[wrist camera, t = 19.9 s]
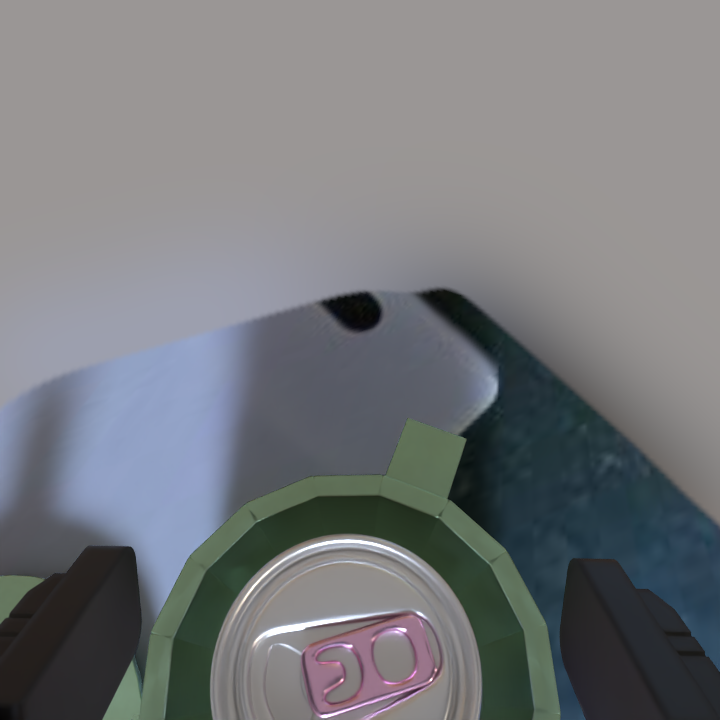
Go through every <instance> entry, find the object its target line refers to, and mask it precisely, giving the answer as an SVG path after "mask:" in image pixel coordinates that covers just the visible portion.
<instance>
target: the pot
mask: <svg viewBox="0 0 720 720" xmlns="http://www.w3.org/2000/svg"><path fill="white" fill-rule="evenodd" d="M465 443H466V438H463V437H460V436H457V435H455V434H452V433H449V432H446V431H443V430H441V429H438V428H435V427H432V426H429V425H427V424H424V423H421V422H418V421H416V420H413V419H410V418H407V420H406V423H405V425H404V428H403V431H402V433H401V436H400V438H399V441H398V444H397V446H396V449H395V451H394V454H393V457H392V459H391V462H390V465H389V467H388V470H387V472H386V475H383V476H382V475H380V474H376V475H319V476H310V477H307V478H305V479H302V480H300V481H298V482H295V483H293V484H290V485H288V486H285V487H283V488H281V489H278V490H276V491H273V492H271V493H269V494H266V495H264V496H261V497H259V498H257V499H254V500H252V501H249V502H247V503H246V504H244V505H243V506H242V507H241V508H240V509H239V510H238V511H237V512H236V513H235V514H234V515H233V516H231V517H230V518H229V519H228V520H227V521H226V522H225V523H224V524H223V525H222V526H221V527H220V528H219V529H218V530H217V531H215V532H214V533H213V534H212V535H211V536H210V537H209V538H208V539H207V540H206V541H205V542H204V543H203V544H202V545H201V546H200V547H198V548H197V549H196V550H195V551H194V552H193V553H192V554H191V555H190V557H189V558H188V559H187V561H186V563H185V565H184V567H183V569H182V571H181V573H180V575H179V577H178V579H177V581H176V583H175V585H174V587H173V589H172V591H171V593H170V595H169V597H168V599H167V601H166V602H165V604H164V606H163V608H162V610H161V612H160V614H159V616H158V618H157V620H156V622H155V624H154V626H153V628H152V630H151V633H152V634H151V635H150V639H149V646H148V654H147V661H146V669H145V676H144V684H143V691H142V699H141V706H140V714H139V720H213V718H212V711H211V702H210V676H211V666H212V660H213V654H214V650H215V646H216V642H217V639H218V636H219V632H220V630H221V627H222V625H223V622H224V620H225V618H226V616H227V614H228V611H229V609H230V608H231V606H232V604H233V602H234V601H235V599H236V598H237V596H238V595H239V593H240V592H241V590H242V589H243V588H244V586H245V585H246V584H247V583H248V581H249V580H250V579H251V578H252V577H253V576H254V575H255V574H256V573H257V572H258V571H259V570H260V569H261V568H262V567H263V566H264V565H266V564H267V563H268V562H269V561H270V560H272V559H273V558H275V557H276V556H277V555H279V554H281V553H282V552H284V551H286V550H287V549H289V548H291V547H293V546H295V545H297V544H300V543H302V542H305V541H308V540H311V539H314V538H318V537H322V536H327V535H334V534H362V535H368V536H373V537H377V538H381V539H384V540H387V541H390V542H393V543H395V544H398V545H400V546H402V547H404V548H406V549H408V550H409V551H411V552H413V553H414V554H416V555H417V556H419V557H420V558H421V559H423V560H424V561H425V562H427V563H428V564H429V565H430V566H431V567H432V568H433V569H434V570H436V571H437V572H438V573H439V574H440V576H441V577H442V578H443V579H444V580H445V581H446V582H447V584H448V585H449V586H450V588H451V589H452V590H453V592H454V593H455V595H456V596H457V598H458V599H459V601H460V603H461V605H462V606H463V608H464V610H465V612H466V614H467V617H468V619H469V621H470V624H471V626H472V629H473V632H474V635H475V638H476V642H477V646H478V650H479V656H480V662H481V671H482V703H481V712H480V718H479V720H560V706H559V700H558V693H557V687H556V680H555V674H554V667H553V661H552V655H551V648H550V642H549V635H548V629H547V625H546V622H545V620H544V618H543V616H542V615H541V613H540V611H539V609H538V607H537V605H536V604H535V602H534V600H533V598H532V596H531V594H530V592H529V591H528V589H527V587H526V585H525V583H524V581H523V579H522V578H521V576H520V574H519V572H518V570H517V568H516V566H515V565H514V563H513V561H512V559H511V557H510V555H509V553H508V552H507V551H506V549H505V548H504V547H503V546H501V545H500V544H499V543H498V542H497V541H496V540H495V539H494V538H492V537H491V536H490V535H489V534H488V533H487V532H486V531H485V530H483V529H482V528H481V527H480V526H479V525H478V524H477V523H476V522H474V521H473V520H472V519H471V518H470V517H469V516H468V515H467V514H466V513H464V512H463V511H462V510H461V509H460V508H459V507H458V506H457V505H455V504H454V503H453V502H452V501H451V500H448V496H449V493H450V490H451V486H452V483H453V480H454V477H455V474H456V471H457V468H458V465H459V462H460V459H461V456H462V453H463V450H464V447H465Z"/></svg>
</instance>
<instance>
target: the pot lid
mask: <svg viewBox="0 0 720 720" xmlns="http://www.w3.org/2000/svg"><path fill="white" fill-rule="evenodd" d="M44 580H45V579H44V578H39V577H34V576H21V575H6V576H0V624H1V623H2V622H3V620H4V619H5V618H8V617H9V613H10V612H11V611H12V610H13V608H14V607H15V606H16V605H17V604H18V602H19V601H20V600H21V599H22V598H23V596H24V595H25V594H26V593H27V592H28V591H29V590H31V589H32V588H34V587H35V586H37V585H38V584H40V583H41V582H42V581H44ZM142 691H143V685H142V679H141V676H140V672H139V669H138V666H137V662H136V659H135V656H134V657H133V659H132V661H131V663H130V665H129V667H128V669H127V671H126V673H125V675H124V677H123V679H122V681H121V683H120V685H119V687H118V689H117V691H116V693H115V695H114V697H113V699H112V701H111V703H110V705H109V707H108V709H107V711H106V713H105V715H104V717H103V719H102V720H139V714H140V706H141V699H142Z"/></svg>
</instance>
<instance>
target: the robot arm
mask: <svg viewBox="0 0 720 720" xmlns="http://www.w3.org/2000/svg"><path fill="white" fill-rule="evenodd" d="M141 624H142V617H141V606H140V596H139V585H138V575H137V565H136V556H135V552H134V550H133V548H132V547H129V546H88V547H86V548H85V549H84V550H83V552H82V553H81V554H80V556H79V557H78V558H77V559H76V561H75V562H74V563H73V565H72V566H71V567H70V568H69V570H68V571H67V572H66V573H54V574H53V575H51V576H50V577H48V578H47V579H45V580H44V581H42V582H41V583H40V584H38V585H37V586H35V587H34V588H32V589H31V590H29V591H28V592H27V593H26V594H25V595H24V596H23V598H22V599H21V600H20V601H19V602H18V604H17V605H16V606H15V607H14V608H13V610H12V611H11V612H10V613H9V617H8V618H5V619H4V620H3V622H2V623H1V624H0V720H102V719H103V717H104V715H105V713H106V711H107V709H108V707H109V705H110V703H111V701H112V699H113V697H114V695H115V693H116V691H117V689H118V687H119V685H120V683H121V681H122V679H123V677H124V675H125V673H126V671H127V669H128V667H129V665H130V663H131V661H132V659H133V657H134V655H135V653H136V650H137V647H138V643H139V639H140V634H141ZM560 647H561V654H562V659H563V663H564V666H565V669H566V671H567V674H568V676H569V679H570V681H571V684H572V686H573V689H574V691H575V694H576V696H577V699H578V701H579V704H580V706H581V709H582V711H583V714H584V716H585V718H586V720H720V672H719V671H718V669H717V668H716V667H715V665H714V664H713V662H712V661H711V660H710V658H709V657H706V656H705V651H704V650H703V648H702V647H701V646H700V644H699V643H698V641H697V640H696V639H695V637H692V636H691V632H690V630H689V629H688V628H687V626H686V625H685V623H684V622H683V621H682V619H681V618H680V616H679V615H678V614H677V612H676V611H675V609H674V608H672V607H671V606H670V605H668V604H667V603H666V602H664V601H663V600H662V599H661V598H659V597H658V596H657V595H655V594H654V593H653V592H651V591H650V590H649V589H636V588H635V587H634V585H633V584H632V582H631V581H630V579H629V578H628V576H627V575H626V573H625V572H624V570H623V568H622V567H621V565H620V564H619V563H618V562H617V561H616V560H614V559H578V558H573V559H572V560H571V561H570V563H569V566H568V571H567V579H566V587H565V594H564V602H563V610H562V617H561V625H560Z"/></svg>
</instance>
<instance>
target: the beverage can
mask: <svg viewBox="0 0 720 720" xmlns="http://www.w3.org/2000/svg"><path fill="white" fill-rule="evenodd" d="M210 702H211V711H212V718H213V720H479V718H480V712H481V703H482V671H481V662H480V656H479V650H478V646H477V642H476V638H475V635H474V632H473V629H472V626H471V624H470V621H469V619H468V617H467V614H466V612H465V610H464V608H463V606H462V605H461V603H460V601H459V599H458V598H457V596H456V595H455V593H454V592H453V590H452V589H451V588H450V586H449V585H448V584H447V582H446V581H445V580H444V579H443V578H442V577H441V576H440V574H439V573H438V572H437V571H436V570H434V569H433V568H432V567H431V566H430V565H429V564H428V563H427V562H425V561H424V560H423V559H421V558H420V557H419V556H417V555H416V554H414V553H413V552H411V551H409V550H408V549H406V548H404V547H402V546H400V545H398V544H395V543H393V542H390V541H387V540H384V539H381V538H377V537H373V536H368V535H362V534H334V535H327V536H322V537H318V538H314V539H311V540H308V541H305V542H302V543H300V544H297V545H295V546H293V547H291V548H289V549H287V550H286V551H284V552H282V553H281V554H279V555H277V556H276V557H275V558H273V559H272V560H270V561H269V562H268V563H267V564H266V565H264V566H263V567H262V568H261V569H260V570H259V571H258V572H257V573H256V574H255V575H254V576H253V577H252V578H251V579H250V580H249V581H248V583H247V584H246V585H245V586H244V588H243V589H242V590H241V592H240V593H239V595H238V596H237V598H236V599H235V601H234V602H233V604H232V606H231V608H230V609H229V611H228V614H227V616H226V618H225V620H224V622H223V625H222V627H221V630H220V632H219V636H218V639H217V642H216V646H215V650H214V654H213V660H212V666H211V676H210Z"/></svg>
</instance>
